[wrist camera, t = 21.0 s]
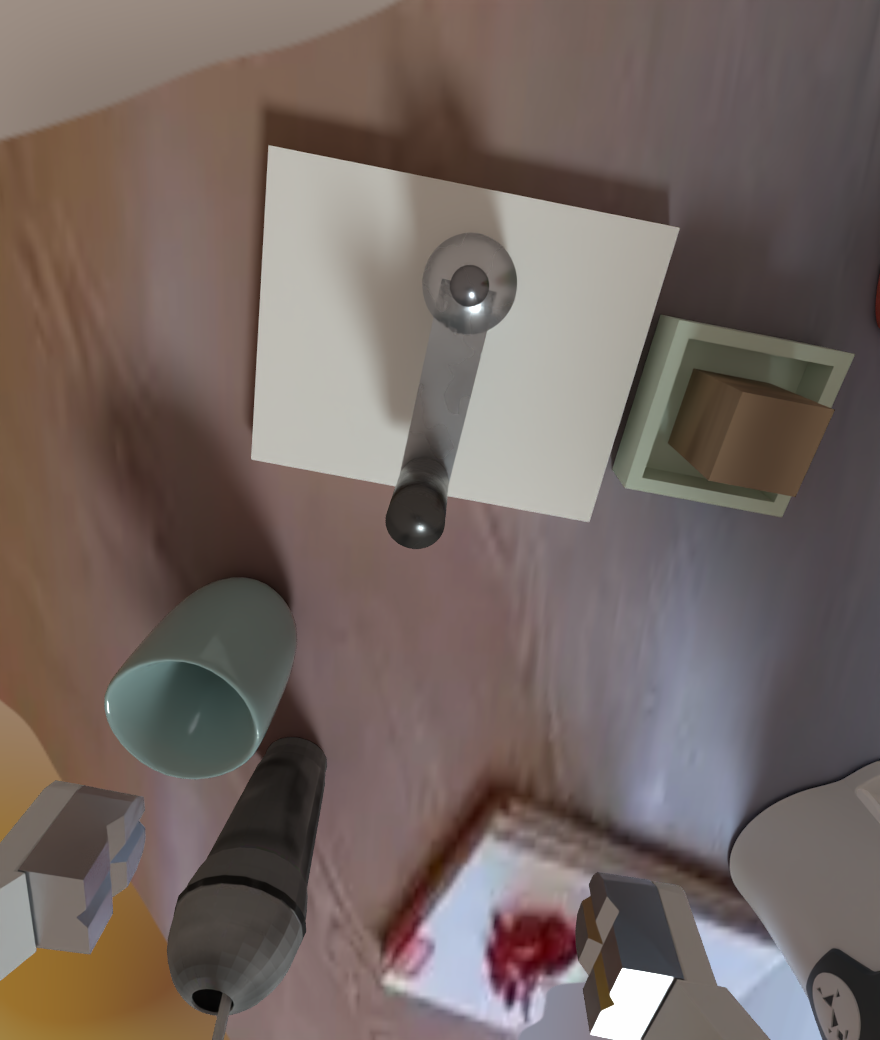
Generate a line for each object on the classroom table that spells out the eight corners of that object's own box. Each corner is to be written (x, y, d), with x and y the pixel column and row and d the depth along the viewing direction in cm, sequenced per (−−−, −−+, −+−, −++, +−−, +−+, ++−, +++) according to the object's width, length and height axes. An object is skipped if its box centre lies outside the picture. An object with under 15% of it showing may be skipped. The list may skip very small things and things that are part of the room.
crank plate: (669, 229, 29) (680, 227, 27) (584, 511, 35) (589, 522, 33) (278, 150, 28) (267, 144, 27) (259, 451, 34) (250, 460, 33)
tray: (820, 346, 31) (855, 354, 28) (756, 496, 34) (781, 517, 31) (660, 314, 30) (679, 319, 28) (612, 469, 34) (624, 487, 31)
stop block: (769, 383, 31) (834, 409, 25) (740, 456, 32) (795, 496, 27) (693, 368, 31) (742, 391, 25) (667, 443, 32) (708, 480, 27)
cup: (331, 640, 39) (289, 756, 30) (230, 676, 41) (161, 797, 32) (271, 541, 36) (205, 635, 27) (166, 583, 38) (70, 686, 29)
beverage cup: (249, 713, 42) (78, 1064, 24) (352, 732, 42) (261, 1094, 24) (243, 788, 45) (86, 1152, 26) (339, 805, 45) (249, 1178, 27)
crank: (438, 226, 28) (425, 213, 20) (522, 247, 28) (542, 242, 20) (387, 471, 32) (361, 537, 25) (459, 488, 33) (456, 558, 25)
